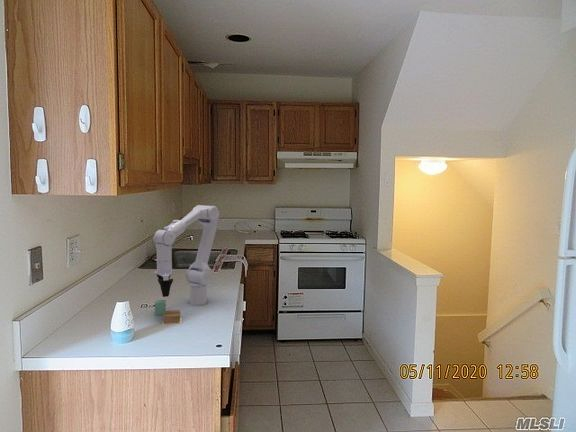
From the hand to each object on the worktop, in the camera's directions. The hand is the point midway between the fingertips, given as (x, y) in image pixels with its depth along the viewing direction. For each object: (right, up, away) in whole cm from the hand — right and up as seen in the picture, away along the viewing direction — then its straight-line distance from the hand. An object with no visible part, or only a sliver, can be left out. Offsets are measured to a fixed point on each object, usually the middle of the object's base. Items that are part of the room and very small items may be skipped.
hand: (164, 293), depth 158 cm
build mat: (+1, -10, -1) cm, 10 cm away
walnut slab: (+4, -9, -5) cm, 11 cm away
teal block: (-3, -9, +3) cm, 9 cm away
